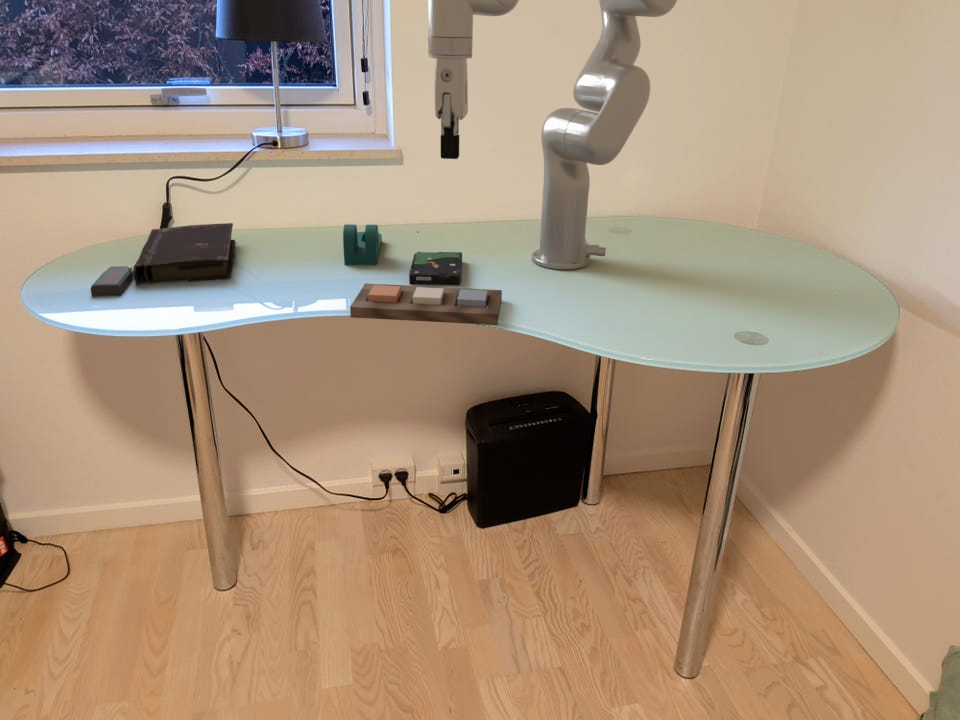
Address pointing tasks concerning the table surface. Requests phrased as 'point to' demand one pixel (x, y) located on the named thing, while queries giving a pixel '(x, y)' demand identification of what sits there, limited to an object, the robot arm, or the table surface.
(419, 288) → the white button
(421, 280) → the disk drive
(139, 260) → the diary
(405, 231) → the table surface
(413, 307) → the panel
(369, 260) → the bracket
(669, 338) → the table surface
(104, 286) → the dark grey block
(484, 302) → the slate button
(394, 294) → the terracotta button
